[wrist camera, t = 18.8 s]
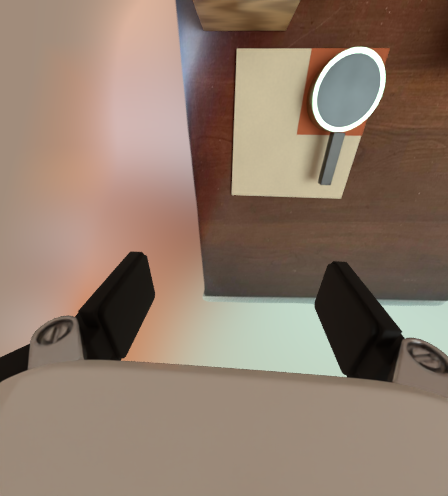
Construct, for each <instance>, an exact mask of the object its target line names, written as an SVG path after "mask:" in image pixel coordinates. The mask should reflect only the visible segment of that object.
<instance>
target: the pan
mask: <svg viewBox="0 0 448 496" xmlns="http://www.w3.org/2000/svg"><path fill="white" fill-rule="evenodd" d="M385 81H386V71H385V66H384V63H383V61H382V59H381V57H380V56H379V54H378V53H377V52H375V51H374V50H372V49H371V48H368V47H364V46H356V47H351V48H348V49H346V50H344V51H342V52H340V53H339V54H337V55H336V56H334V57H333V58H332V59H330V60H329V61H328V62H326V63H325V64H324V65H323V66H322V67H321V68H320V70H319V71H318V72H317V73H316V75H315V77H314V78H313V80H312V82H311V84H310V87H309V90H308V94H307V101H306V106H307V113H308V116H309V119H310V120H311V122H312V123H313V125H314V126H315V127H317V128H318V129H320V130H322V131H325V132H330V135H329V139H328V143H327V147H326V151H325V155H324V159H323V163H322V167H321V171H320V175H319V179H318V183H319V184H320V185H331V182H332V179H333V175H334V172H335V168H336V165H337V161H338V158H339V154H340V151H341V147H342V144H343V140H344V137H345V133H340V132H345V131H348V130H351V129H353V128H355V127H357V126H359V125H360V124H361V123H363V122H364V121H365V120H366V119H367V118H368V117H369V116H370V115H371V114H372V112H373V111H374V110H375V108H376V107H377V105H378V103H379V101H380V99H381V97H382V94H383V91H384V87H385Z"/></svg>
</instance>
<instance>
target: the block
mask: <svg viewBox="0 0 448 496" xmlns="http://www.w3.org/2000/svg"><path fill="white" fill-rule="evenodd" d="M192 1H193V3H194V6H195V9H196V12H197V14H198V17H199V20H200V22H201V25H202V28H203V31H286V29H287V27H288V25H289V23H290V20H291V18H292V16H293V14H294V12H295V10H296V8H297V6H298V4H299V2H300V0H192Z"/></svg>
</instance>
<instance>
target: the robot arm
mask: <svg viewBox="0 0 448 496" xmlns="http://www.w3.org/2000/svg"><path fill="white" fill-rule="evenodd" d="M154 298H155V291H154V286H153V282H152V277H151V273H150V268H149V263H148V259H147V256H146V255H144V254H143V253H142V252H130V253H129V254H128V255H127V256H126V257H125V258H124V259H123V261H122V262H121V263H120V264H119V265H118V266H117V267H116V269H115V270H114V271H113V272H112V273H111V274H110V275H109V276H108V278H107V279H106V280H105V281H104V282H103V283H102V285H101V286H100V287H99V288H98V289H97V290H96V291H95V292H94V294H93V295H92V296H91V297H90V298H89V299H88V300H87V302H86V303H85V304H84V305H83V306H82V307H81V308H80V310H79V311H78V312H79V313H78V314H77V315H76V316H75V317H73V316H61V317H58V318H55V319H53V320H50V321H48V322H47V323H45V324H44V325H42V326H41V327H40V328H39V329H38V330H36V332H35V333H34V334H33V336H32V338H31V341H30V344H28V345H26V346H24V347H22V348H20V349H17V350H15V351H13V352H11V353H9V354H7V355H5V356H2V357H0V496H448V356H447V355H446V354H444V353H443V352H442V351H441V350H439V349H438V348H437V347H435V346H433V345H432V344H430V343H428V342H426V341H423V340H421V339H416V338H406V339H405V338H404V337H403V336H402V334H401V332H402V331H401V330H400V328H399V327H398V326H397V325H396V323H395V322H394V321H393V320H392V318H391V317H390V316H389V315H388V313H387V312H386V311H385V310H384V308H383V307H382V306H381V305H380V303H379V302H378V301H377V300H376V298H375V297H374V296H373V295H372V293H371V292H370V291H369V290H368V288H367V287H366V286H365V285H364V283H363V282H362V281H361V280H360V278H359V277H358V276H357V275H356V273H355V272H354V271H353V270H352V268H351V267H350V266H349V265H348V263H347V262H337V261H333V262H332V263H331V264H328V266H327V269H326V271H325V274H324V277H323V280H322V283H321V286H320V289H319V292H318V294H317V297H316V300H315V310H316V312H317V314H318V317H319V319H320V321H321V324H322V326H323V329H324V331H325V333H326V336H327V338H328V341H329V343H330V345H331V348H332V350H333V352H334V354H335V357H336V360H337V362H338V364H339V366H340V369H341V371H342V373H343V374H344V375H347V377H337V376H325V375H312V374H300V373H287V372H275V371H262V370H248V369H234V368H221V367H208V366H193V365H179V364H165V363H149V362H135V361H121V359H122V358H125V357H126V355H127V353H128V351H129V349H130V347H131V345H132V343H133V341H134V339H135V337H136V335H137V333H138V331H139V329H140V327H141V325H142V322H143V321H144V319H145V317H146V315H147V313H148V311H149V309H150V307H151V305H152V302H153V300H154Z"/></svg>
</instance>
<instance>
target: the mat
mask: <svg viewBox="0 0 448 496" xmlns="http://www.w3.org/2000/svg"><path fill="white" fill-rule="evenodd" d="M346 49H348V48H312V49H237V53H236V82H235V110H234V138H233V166H232V195H251V196H281V197H310V198H340V199H341V197H342V194H343V191H344V188H345V184H346V181H347V178H348V175H349V172H350V169H351V166H352V163H353V160H354V156H355V153H356V150H357V147H358V144H359V141H360V138H361V136H362V133H363V130H364V127H365V124H366V121H367V119H366V120H365V121H364V122H363V123H361V124H360V125H359V126H357V127H355V128H353V129H351V130H348V131H345V132H340V133H345V137H344V140H343V144H342V147H341V151H340V154H339V158H338V161H337V165H336V168H335V172H334V175H333V179H332V182H331V185H320V184H319V183H318V179H319V175H320V171H321V167H322V163H323V159H324V155H325V151H326V147H327V143H328V139H329V135H330V132H325V131H322V130H320V129H318V128H317V127H315V126H314V125H313V123H312V122H311V120H310V119H309V116H308V113H307V106H306V101H307V94H308V90H309V87H310V84H311V82H312V80H313V78H314V77H315V75H316V73H317V72H318V71H319V70H320V68H321V67H322V66H323V65H324V64H325V63H326V62H328V61H329V60H330V59H332V58H333V57H334V56H336V55H337V54H339V53H340V52H342V51H344V50H346ZM371 49H372V50H374V51H375V52H377V53H378V54H379V56H380V57H381V59H382V61H383V63H384V65H385V62H386V59H387V56H388V53H389V50H390V48H371Z"/></svg>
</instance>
